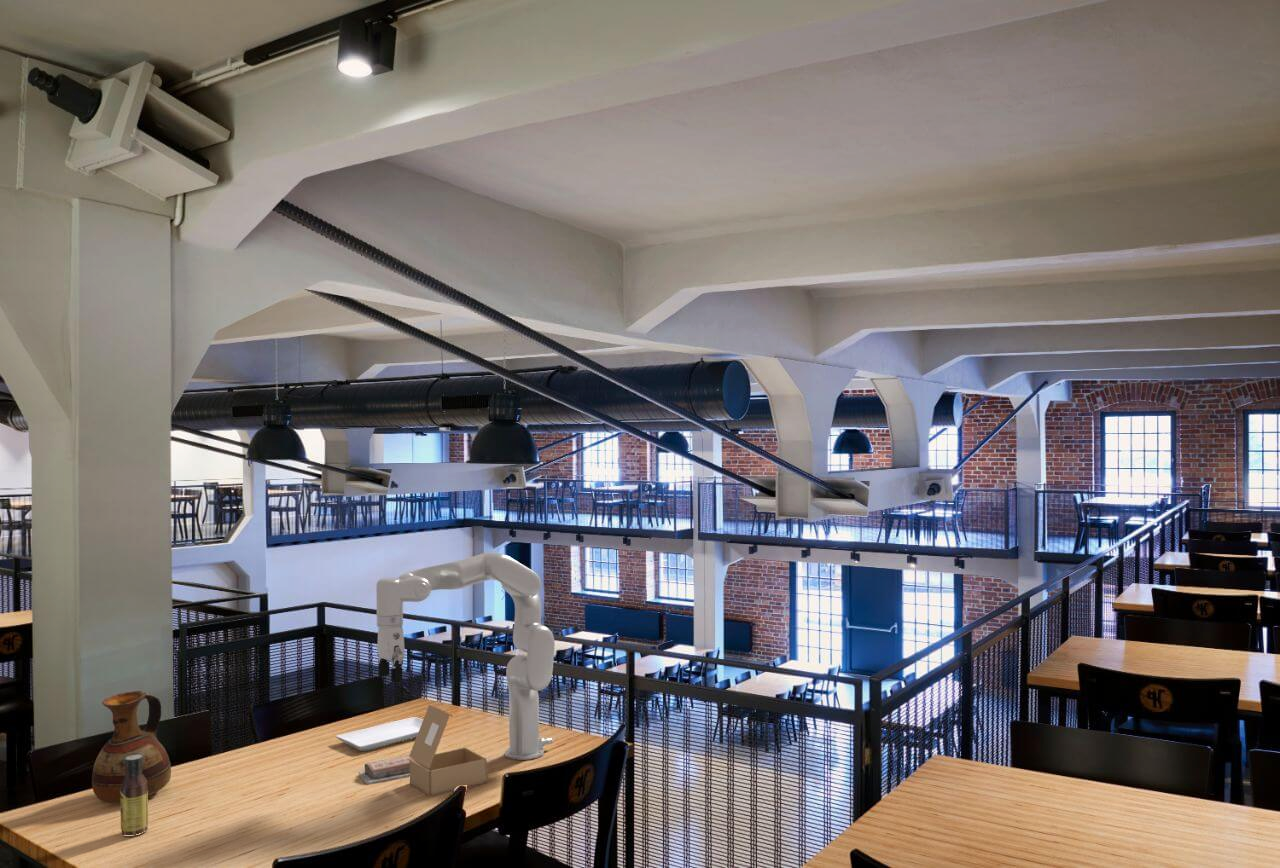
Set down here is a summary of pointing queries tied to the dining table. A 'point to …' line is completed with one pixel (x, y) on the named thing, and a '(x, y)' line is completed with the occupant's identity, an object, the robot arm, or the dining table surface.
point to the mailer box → (448, 772)
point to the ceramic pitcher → (130, 747)
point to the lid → (429, 735)
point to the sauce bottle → (134, 798)
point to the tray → (382, 734)
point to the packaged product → (386, 770)
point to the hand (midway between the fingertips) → (390, 678)
